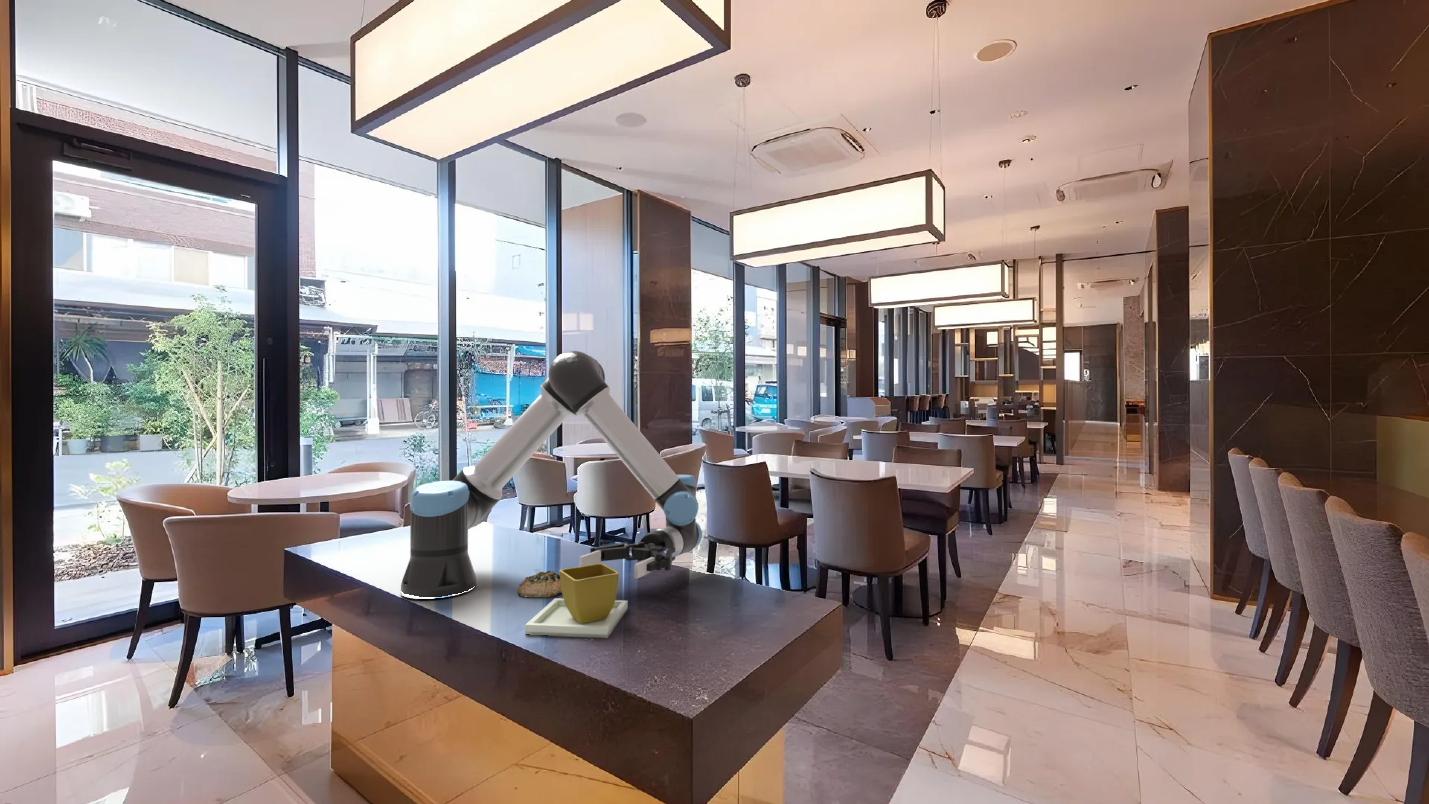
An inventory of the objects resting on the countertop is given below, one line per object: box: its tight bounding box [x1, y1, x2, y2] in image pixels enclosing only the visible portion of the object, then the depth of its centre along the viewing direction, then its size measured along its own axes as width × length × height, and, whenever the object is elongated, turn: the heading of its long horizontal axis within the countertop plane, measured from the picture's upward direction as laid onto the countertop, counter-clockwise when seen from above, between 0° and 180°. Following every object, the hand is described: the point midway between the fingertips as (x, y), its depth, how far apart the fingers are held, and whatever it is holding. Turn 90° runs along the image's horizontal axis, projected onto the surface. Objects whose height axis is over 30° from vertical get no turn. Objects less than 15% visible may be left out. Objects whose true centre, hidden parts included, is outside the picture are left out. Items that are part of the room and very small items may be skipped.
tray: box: [524, 597, 629, 639], centre depth 113 cm, size 15×15×2 cm
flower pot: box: [559, 562, 620, 624], centre depth 113 cm, size 9×9×9 cm
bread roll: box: [517, 570, 562, 598], centre depth 132 cm, size 11×11×5 cm
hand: (607, 567), depth 121 cm, fingers open, 13 cm apart
